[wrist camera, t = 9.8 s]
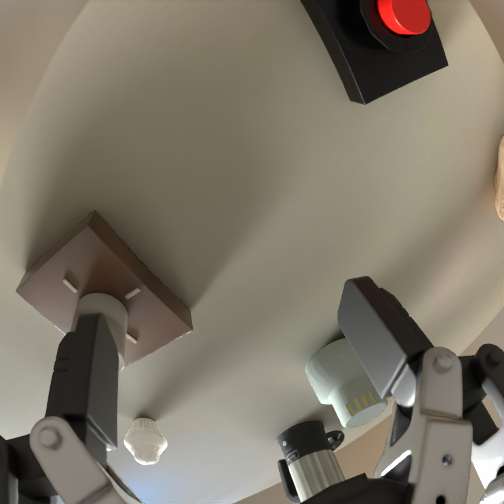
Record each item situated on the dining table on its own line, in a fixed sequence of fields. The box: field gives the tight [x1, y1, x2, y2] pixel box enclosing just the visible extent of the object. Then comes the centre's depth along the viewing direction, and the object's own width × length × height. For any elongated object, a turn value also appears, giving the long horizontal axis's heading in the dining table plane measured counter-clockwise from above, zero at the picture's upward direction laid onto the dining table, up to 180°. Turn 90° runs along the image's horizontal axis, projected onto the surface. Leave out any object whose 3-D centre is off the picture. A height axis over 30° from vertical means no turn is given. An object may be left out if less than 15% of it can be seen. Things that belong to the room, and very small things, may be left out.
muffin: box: [124, 418, 167, 465], centre depth 36 cm, size 6×6×7 cm
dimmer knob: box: [70, 293, 128, 373], centre depth 21 cm, size 5×5×5 cm
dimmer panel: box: [16, 211, 193, 368], centre depth 25 cm, size 13×10×3 cm
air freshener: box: [304, 338, 388, 428], centre depth 34 cm, size 11×8×10 cm
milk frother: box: [277, 422, 345, 503], centre depth 47 cm, size 14×16×15 cm
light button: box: [376, 0, 430, 34], centre depth 14 cm, size 4×4×2 cm
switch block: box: [300, 0, 448, 105], centre depth 16 cm, size 12×10×4 cm
